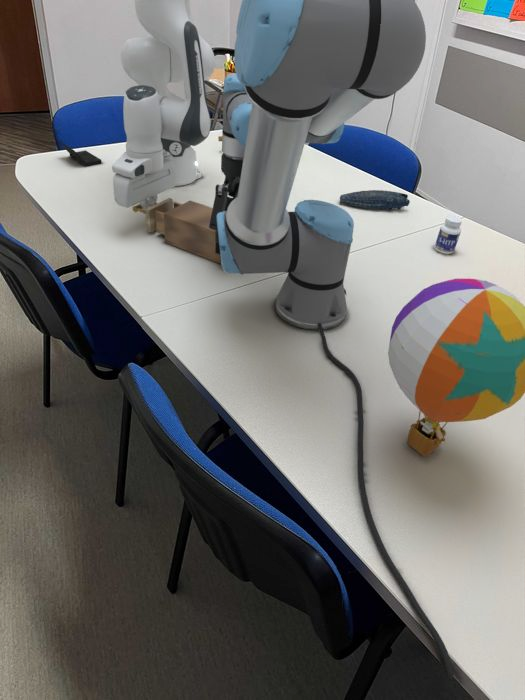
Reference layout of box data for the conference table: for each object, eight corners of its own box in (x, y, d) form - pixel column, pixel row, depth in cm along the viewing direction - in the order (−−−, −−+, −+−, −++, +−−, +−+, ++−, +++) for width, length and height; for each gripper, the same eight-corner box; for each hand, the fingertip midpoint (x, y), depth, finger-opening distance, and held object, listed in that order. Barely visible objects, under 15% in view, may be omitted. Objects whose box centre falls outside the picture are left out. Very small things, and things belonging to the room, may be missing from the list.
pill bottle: (433, 251, 139) (442, 220, 133) (435, 243, 143) (444, 213, 137) (453, 256, 138) (464, 225, 132) (454, 247, 142) (465, 217, 136)
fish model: (408, 214, 157) (412, 198, 153) (339, 207, 158) (341, 191, 154) (406, 206, 162) (410, 190, 159) (339, 199, 163) (341, 183, 160)
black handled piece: (106, 156, 172) (85, 134, 163) (94, 173, 170) (73, 152, 162) (85, 152, 178) (64, 130, 170) (74, 169, 177) (52, 148, 168)
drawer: (130, 224, 136) (128, 202, 132) (153, 213, 143) (152, 191, 139) (208, 254, 127) (209, 231, 123) (230, 241, 133) (231, 218, 129)
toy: (336, 437, 84) (375, 278, 66) (409, 388, 95) (460, 239, 76) (438, 521, 73) (519, 358, 55) (507, 455, 84) (595, 300, 65)
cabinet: (164, 242, 132) (163, 213, 127) (190, 228, 139) (190, 200, 134) (232, 268, 124) (233, 238, 119) (255, 252, 131) (258, 223, 127)
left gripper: (162, 146, 137) (164, 197, 146) (106, 167, 123) (112, 221, 131) (181, 152, 135) (182, 203, 143) (127, 173, 120) (131, 228, 129)
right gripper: (252, 138, 123) (246, 225, 137) (192, 163, 107) (193, 258, 121) (279, 146, 120) (271, 233, 134) (222, 172, 104) (219, 268, 118)
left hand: (148, 212), depth 137 cm, fingers closed, pressing on drawer
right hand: (234, 245), depth 127 cm, fingers closed on cabinet, 10 cm apart
